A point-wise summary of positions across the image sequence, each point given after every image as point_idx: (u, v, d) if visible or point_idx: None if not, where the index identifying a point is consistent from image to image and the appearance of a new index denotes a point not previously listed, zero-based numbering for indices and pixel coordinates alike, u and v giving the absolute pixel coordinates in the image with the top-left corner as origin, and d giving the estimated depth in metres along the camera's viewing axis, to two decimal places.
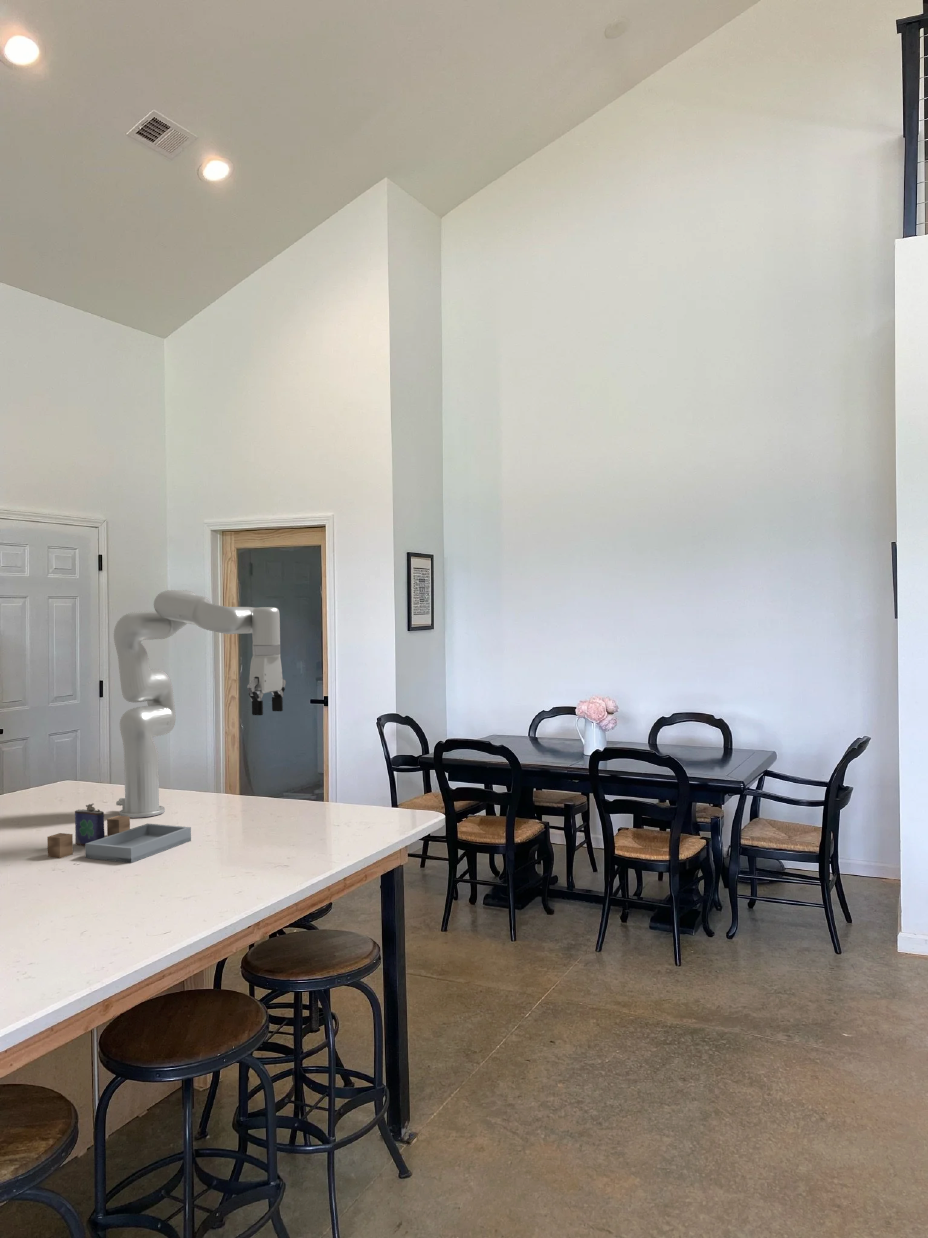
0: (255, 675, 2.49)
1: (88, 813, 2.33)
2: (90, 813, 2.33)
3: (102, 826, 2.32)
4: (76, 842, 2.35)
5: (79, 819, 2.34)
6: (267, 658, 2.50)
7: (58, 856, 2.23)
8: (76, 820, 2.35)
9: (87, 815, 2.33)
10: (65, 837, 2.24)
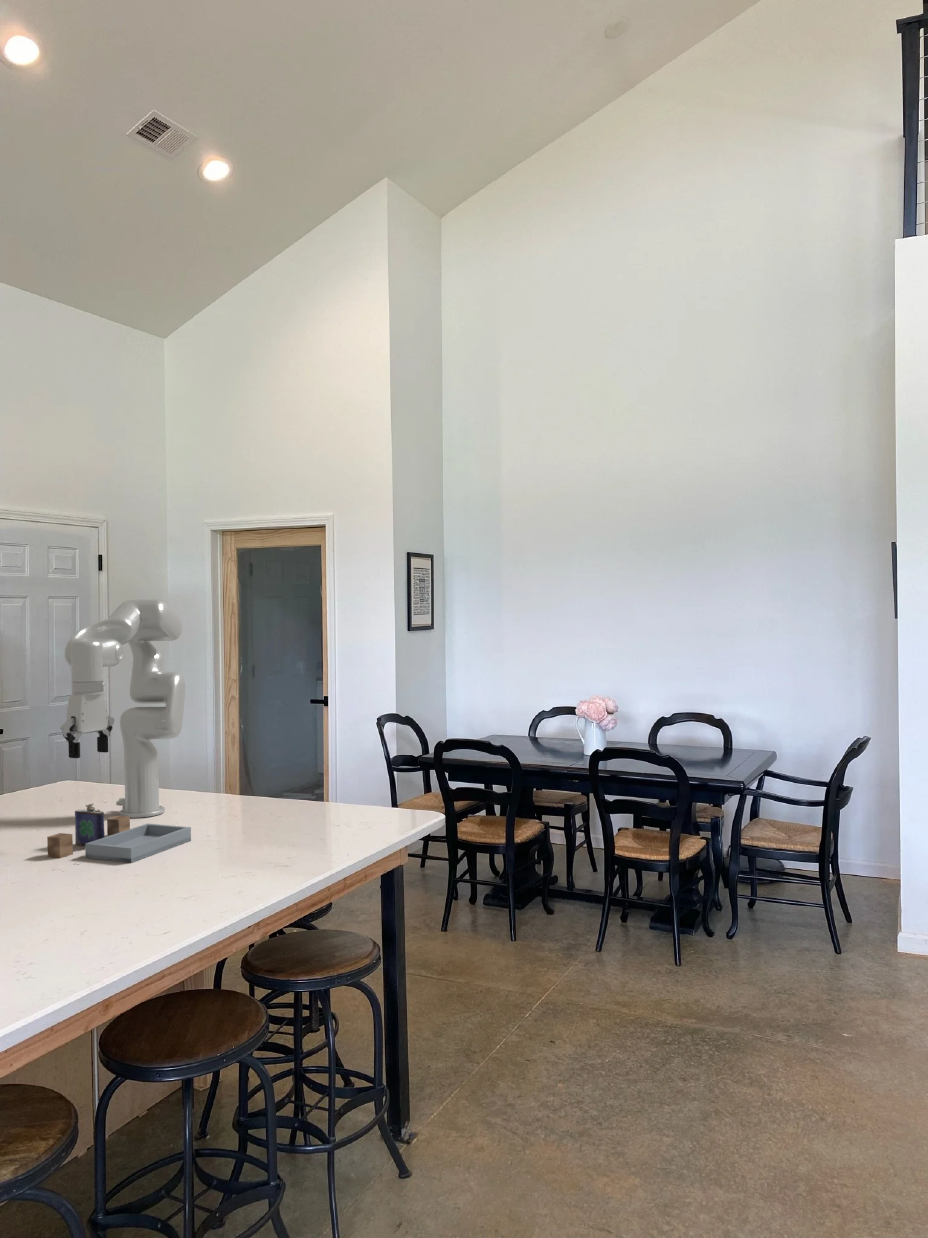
0: (72, 715, 2.30)
1: (88, 813, 2.33)
2: (90, 813, 2.33)
3: (102, 826, 2.32)
4: (76, 842, 2.35)
5: (79, 819, 2.34)
6: (85, 696, 2.31)
7: (58, 856, 2.23)
8: (76, 820, 2.35)
9: (87, 815, 2.33)
10: (65, 837, 2.24)
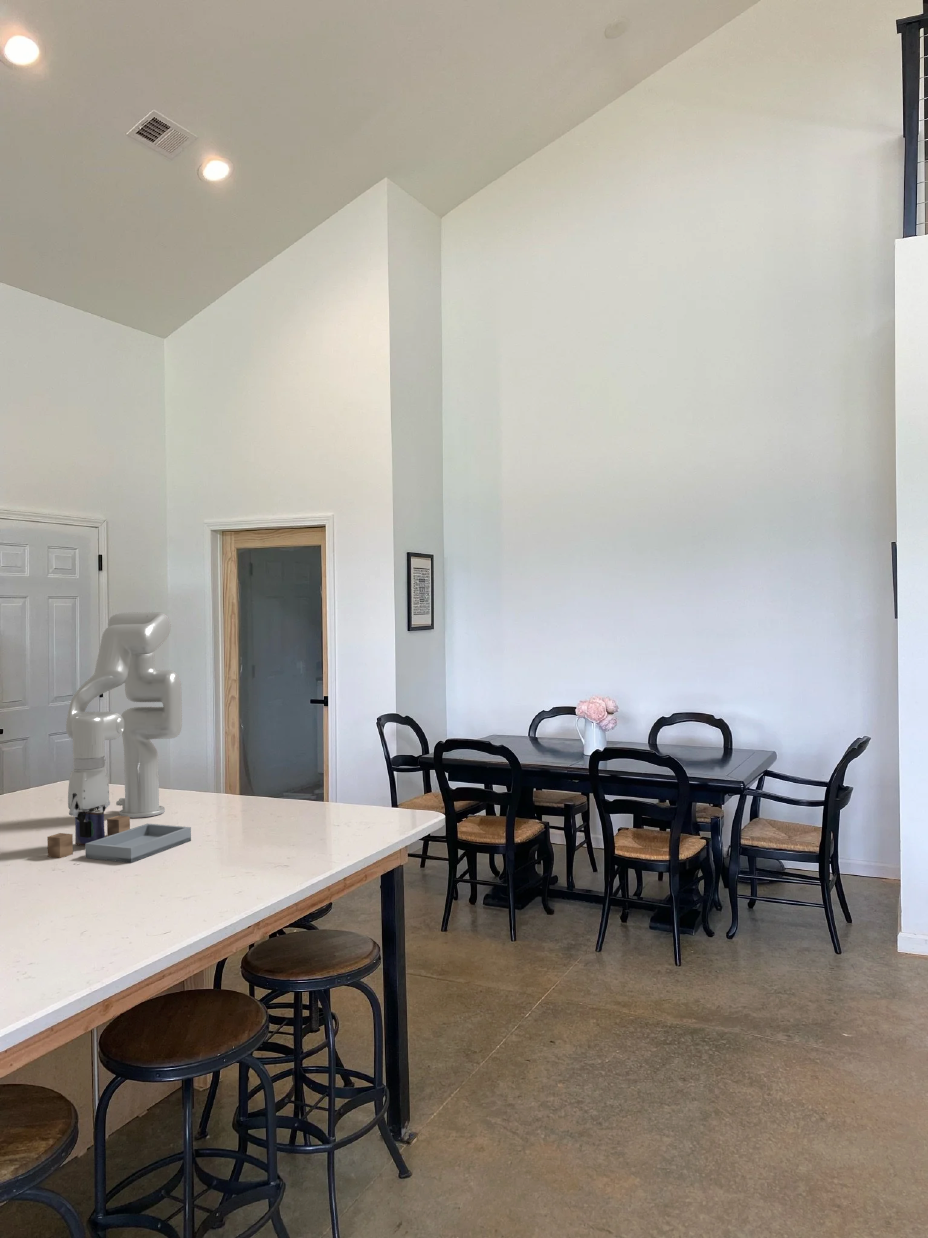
0: (74, 792, 2.30)
1: None
2: (90, 813, 2.33)
3: (102, 826, 2.32)
4: (76, 842, 2.35)
5: None
6: (87, 773, 2.31)
7: (58, 856, 2.23)
8: (76, 820, 2.35)
9: None
10: (65, 837, 2.24)
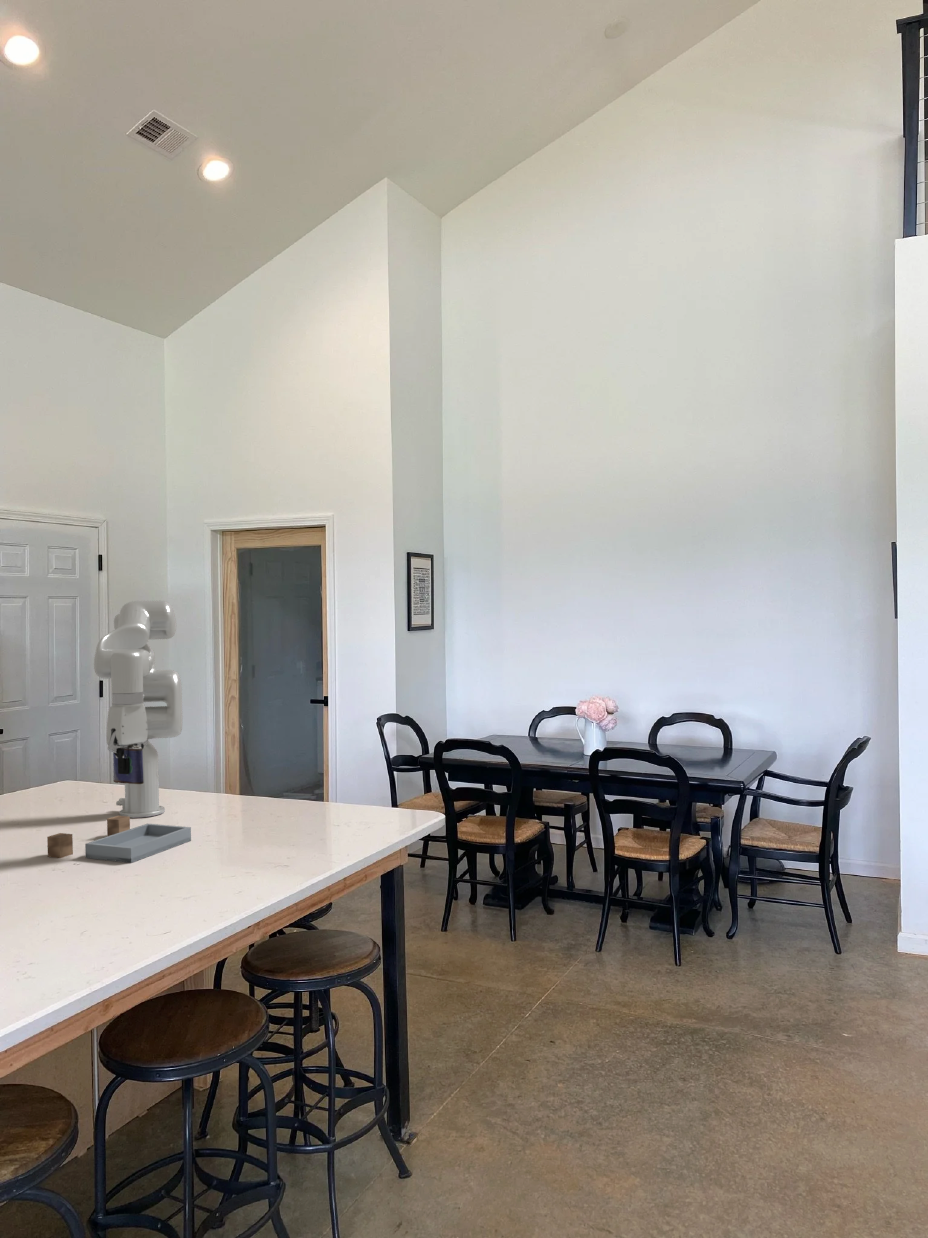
0: (112, 727, 2.26)
1: None
2: (129, 749, 2.29)
3: (141, 762, 2.28)
4: (114, 779, 2.31)
5: None
6: (126, 708, 2.27)
7: (58, 856, 2.23)
8: (114, 757, 2.31)
9: None
10: (65, 837, 2.24)
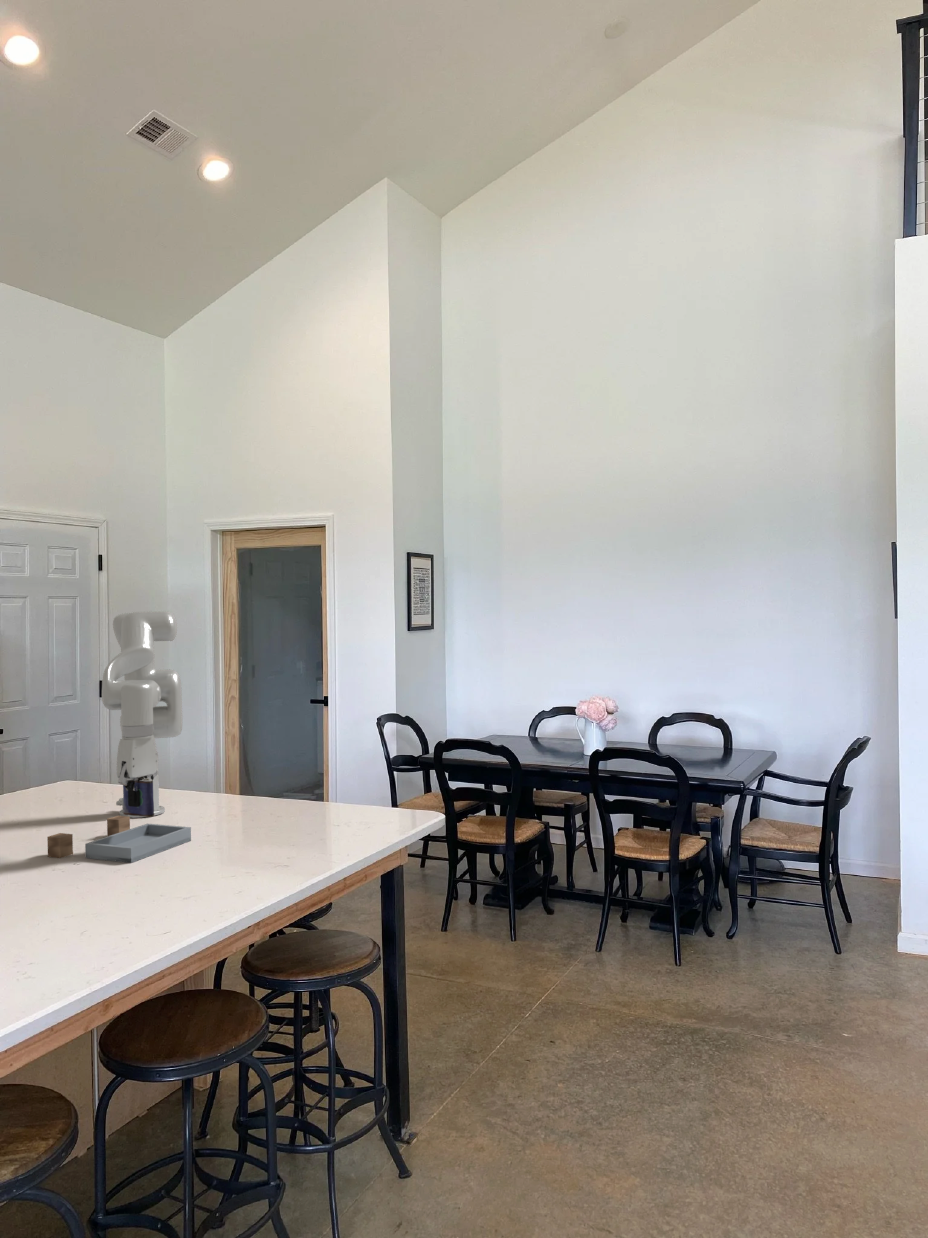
0: (123, 760, 2.25)
1: None
2: (139, 781, 2.28)
3: (151, 795, 2.28)
4: (124, 811, 2.30)
5: None
6: (136, 740, 2.26)
7: (58, 856, 2.23)
8: (124, 789, 2.30)
9: None
10: (65, 837, 2.24)
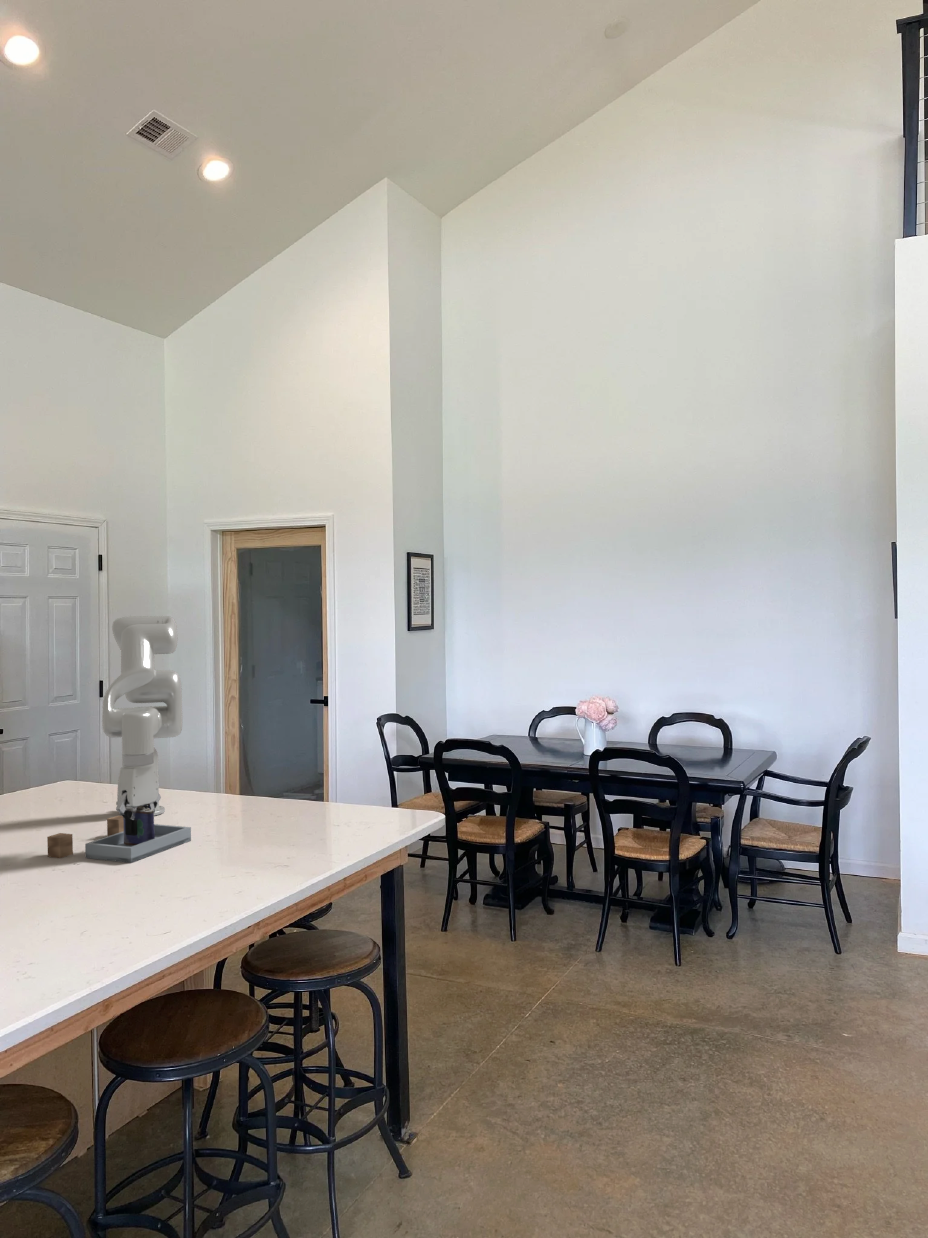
0: (123, 789, 2.25)
1: (137, 812, 2.29)
2: (140, 812, 2.28)
3: (152, 825, 2.28)
4: (124, 841, 2.30)
5: None
6: (137, 769, 2.26)
7: (58, 856, 2.23)
8: None
9: (136, 814, 2.29)
10: (65, 837, 2.24)
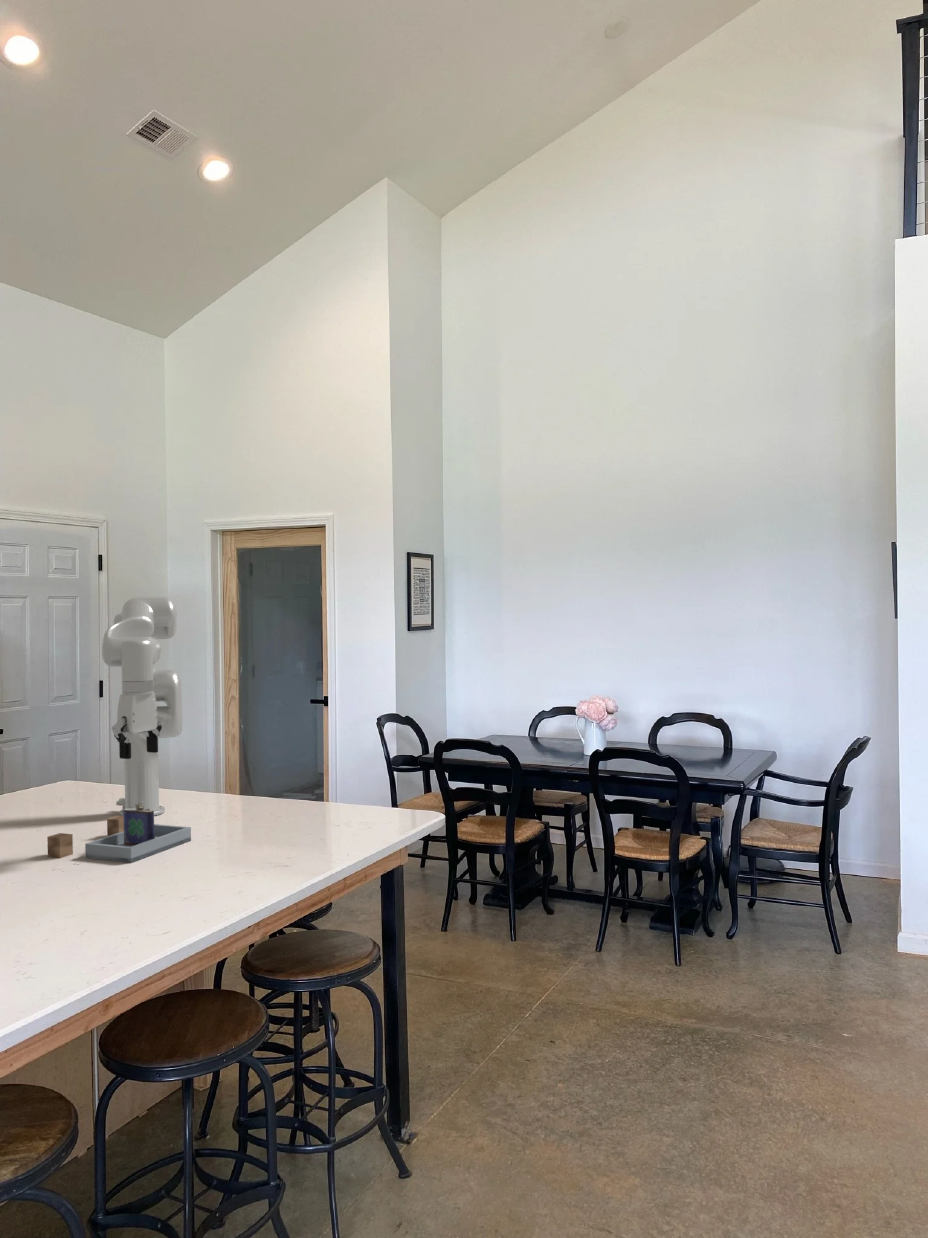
0: (123, 715, 2.26)
1: (138, 812, 2.29)
2: (140, 812, 2.28)
3: (152, 825, 2.28)
4: (124, 841, 2.30)
5: (127, 819, 2.30)
6: (136, 696, 2.27)
7: (58, 856, 2.23)
8: (125, 819, 2.30)
9: (136, 814, 2.29)
10: (65, 837, 2.24)
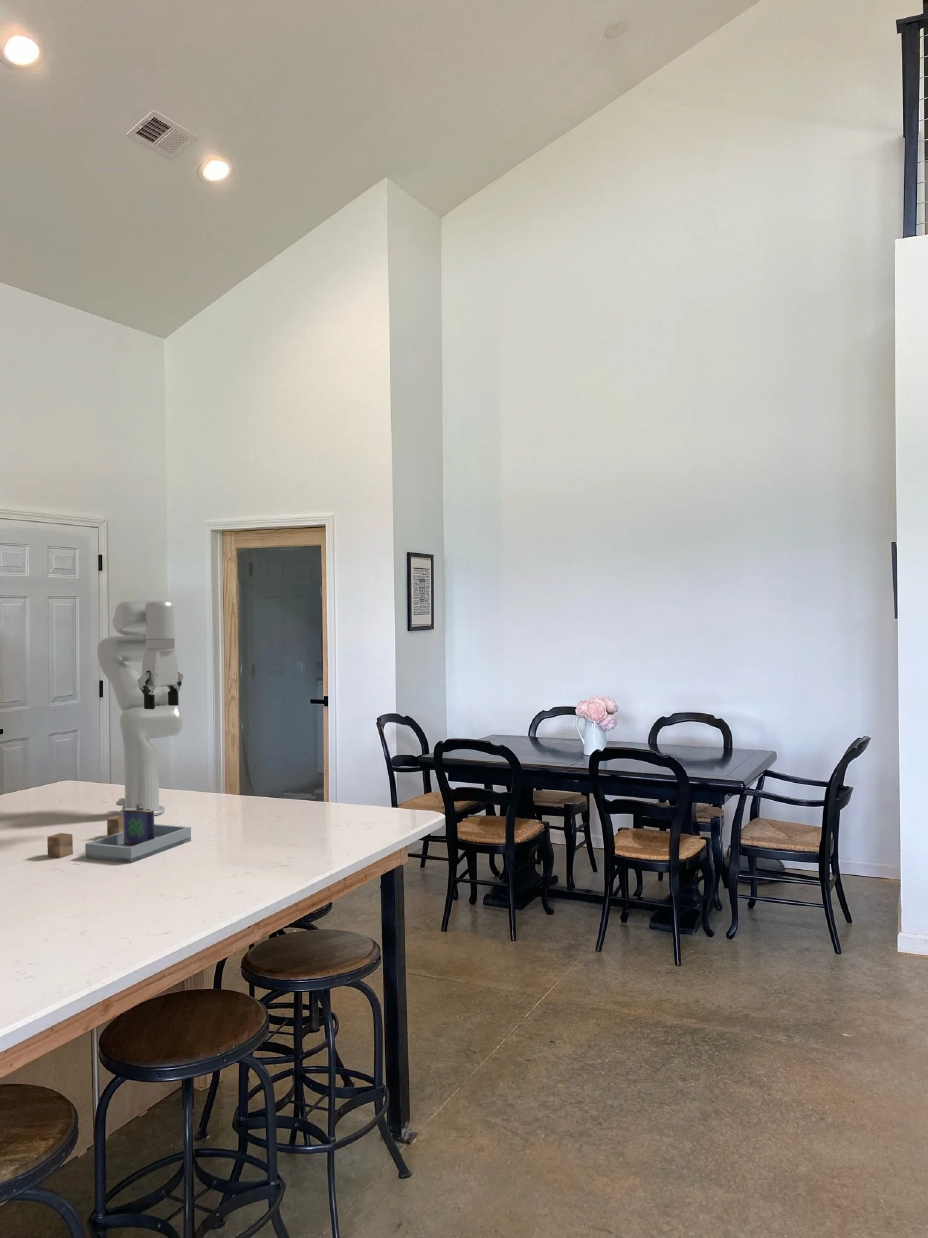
0: (147, 669, 2.48)
1: (138, 812, 2.29)
2: (140, 812, 2.28)
3: (152, 825, 2.28)
4: (124, 841, 2.30)
5: (127, 819, 2.30)
6: (159, 652, 2.49)
7: (58, 856, 2.23)
8: (125, 819, 2.30)
9: (136, 814, 2.29)
10: (65, 837, 2.24)
